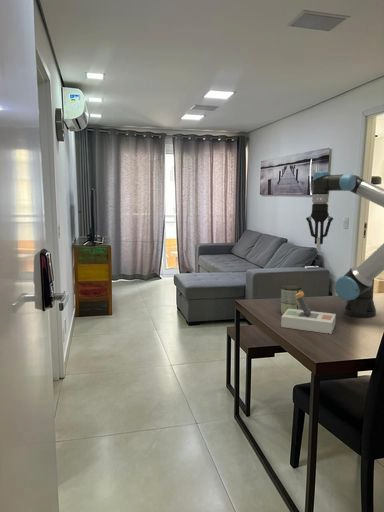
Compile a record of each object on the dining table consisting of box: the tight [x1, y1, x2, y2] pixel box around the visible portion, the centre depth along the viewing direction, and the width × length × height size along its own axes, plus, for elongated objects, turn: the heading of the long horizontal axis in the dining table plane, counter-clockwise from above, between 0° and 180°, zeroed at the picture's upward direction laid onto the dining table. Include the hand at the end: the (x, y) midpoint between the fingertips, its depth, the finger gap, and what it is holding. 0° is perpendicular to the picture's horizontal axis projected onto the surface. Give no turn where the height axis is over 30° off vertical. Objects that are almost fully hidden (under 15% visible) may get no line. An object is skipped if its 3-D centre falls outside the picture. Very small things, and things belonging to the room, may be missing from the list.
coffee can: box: [280, 283, 303, 315], centre depth 197 cm, size 10×10×14 cm
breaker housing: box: [280, 309, 337, 335], centre depth 177 cm, size 22×14×5 cm, turn 63°
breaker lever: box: [295, 290, 312, 316], centre depth 177 cm, size 3×6×11 cm, turn 153°
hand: (318, 250), depth 192 cm, fingers closed
